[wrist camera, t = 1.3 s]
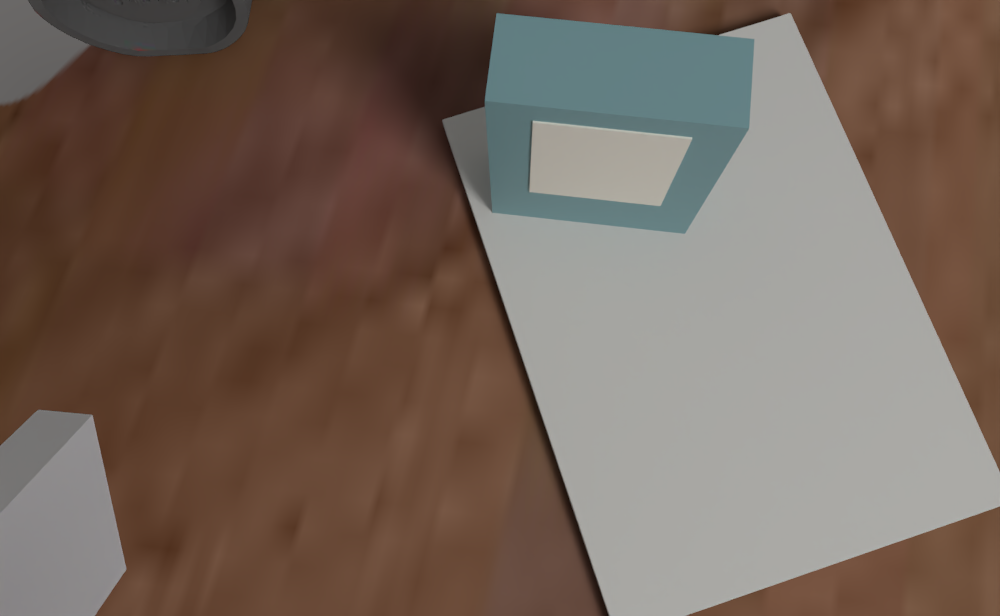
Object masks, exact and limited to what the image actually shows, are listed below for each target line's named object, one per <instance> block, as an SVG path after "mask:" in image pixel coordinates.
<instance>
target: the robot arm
mask: <svg viewBox="0 0 1000 616" xmlns="http://www.w3.org/2000/svg"><path fill="white" fill-rule="evenodd" d="M125 571H126V566H125V561H124V556H123V552H122V547H121V543H120V538H119V534H118V529H117V525H116V520H115V516H114V511H113V506H112V502H111V497H110V493H109V488H108V484H107V479H106V475H105V470H104V465H103V461H102V456H101V452H100V447H99V443H98V438H97V434H96V429H95V425H94V420H93V415H88V414H77V413H67V412H56V411H46V410H37V411H36V412H35V413H34V414H33V415H32V416H31V417H30V418H29V419H28V420H27V421H26V422H25V423H24V424H23V425H22V426H21V427H20V428H19V429H17V430H16V431H15V432H14V433H13V434H12V435H11V436H10V437H9V438H8V439H7V440H6V441H5V442H4V443H3V444H2V445H1V446H0V616H95V614H96V613H97V611H98V610H99V609H100V607H101V606H102V604H103V603H104V601H105V600H106V598H107V597H108V595H109V594H110V592H111V591H112V590H113V588H114V587H115V585H116V584H117V582H118V581H119V579H120V578H121V576H122V575H123V573H124V572H125Z"/></svg>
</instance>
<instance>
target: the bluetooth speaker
mask: <svg viewBox="0 0 1000 616" xmlns="http://www.w3.org/2000/svg"><path fill="white" fill-rule="evenodd" d="M28 1H29V3H30V4H31V6H32V7H33V9H34V10H35V11H36V12H37V13H38V14H39V15H40V16H41V17H42V18H43V19H44V20H46V21H47V22H48V23H50V24H51V25H53V26H54V27H56V28H57V29H59V30H61V31H63V32H64V33H66V34H68V35H70V36H72V37H74V38H76V39H78V40H81V41H83V42H85V43H88V44H90V45H93V46H96V47H99V48H102V49H105V50H109V51H113V52H117V53H121V54H126V55H133V56H163V55H186V54H203V53H212V52H216V51H219V50H222V49H224V48H226V47H228V46H230V45H231V44H233V43H234V42H235V41H236V40H238V39H239V38H240V36H241V35H242V34H243V33H244V31H245V29H246V27H247V24H248V19H249V14H250V9H251V3H252V0H28Z"/></svg>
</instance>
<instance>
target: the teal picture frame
mask: <svg viewBox="0 0 1000 616" xmlns="http://www.w3.org/2000/svg"><path fill="white" fill-rule="evenodd" d="M753 56H754V39H749V38H739V37H729V36H719V35H709V34H699V33H689V32H679V31H669V30H659V29H649V28H639V27H629V26H619V25H609V24H599V23H589V22H579V21H569V20H559V19H549V18H539V17H529V16H519V15H509V14H499V13H497V14H496V21H495V28H494V36H493V43H492V50H491V58H490V65H489V72H488V80H487V87H486V94H485V114H486V129H487V143H488V158H489V172H490V187H491V201H492V213H500V214H509V215H518V216H527V217H536V218H545V219H554V220H563V221H572V222H581V223H591V224H600V225H609V226H618V227H627V228H636V229H645V230H654V231H663V232H673V233H682V234H685V233H686V231H687V230H688V228H689V226H690V225H691V223H692V221H693V220H694V218H695V217H696V215H697V213H698V212H699V210H700V208H701V207H702V205H703V203H704V202H705V200H706V198H707V197H708V195H709V194H710V192H711V190H712V189H713V187H714V185H715V184H716V182H717V180H718V179H719V177H720V176H721V174H722V172H723V171H724V169H725V167H726V166H727V164H728V162H729V161H730V159H731V158H732V156H733V154H734V153H735V151H736V149H737V148H738V146H739V144H740V143H741V141H742V140H743V138H744V136H745V135H746V133H747V131H748V130H749V124H750V107H751V90H752V73H753Z"/></svg>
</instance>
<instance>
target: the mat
mask: <svg viewBox="0 0 1000 616" xmlns="http://www.w3.org/2000/svg"><path fill="white" fill-rule="evenodd" d="M719 36H729V37H739V38H749V39H754V56H753V73H752V90H751V107H750V124H749V130H748V131H747V133H746V135H745V136H744V138H743V140H742V141H741V143H740V144H739V146H738V148H737V149H736V151H735V153H734V154H733V156H732V158H731V159H730V161H729V162H728V164H727V166H726V167H725V169H724V171H723V172H722V174H721V176H720V177H719V179H718V180H717V182H716V184H715V185H714V187H713V189H712V190H711V192H710V194H709V195H708V197H707V198H706V200H705V202H704V203H703V205H702V207H701V208H700V210H699V212H698V213H697V215H696V217H695V218H694V220H693V221H692V223H691V225H690V226H689V228H688V230H687V231H686V233H685V234H682V233H673V232H663V231H654V230H645V229H636V228H627V227H618V226H609V225H600V224H591V223H581V222H572V221H563V220H554V219H545V218H536V217H527V216H518V215H509V214H500V213H492V201H491V187H490V172H489V158H488V143H487V129H486V114H485V107H482V108H479V109H476V110H472V111H469V112H466V113H463V114H459V115H456V116H453V117H449V118H446V119H443V120H442V122H443V127H444V130H445V133H446V136H447V139H448V142H449V144H450V147H451V150H452V153H453V156H454V159H455V162H456V165H457V168H458V171H459V174H460V177H461V180H462V183H463V186H464V189H465V192H466V195H467V198H468V201H469V204H470V207H471V210H472V213H473V216H474V219H475V222H476V224H477V227H478V230H479V233H480V236H481V239H482V242H483V245H484V248H485V251H486V254H487V257H488V260H489V263H490V266H491V269H492V272H493V275H494V278H495V281H496V284H497V287H498V290H499V293H500V296H501V299H502V302H503V304H504V307H505V310H506V313H507V316H508V319H509V322H510V325H511V328H512V331H513V334H514V337H515V340H516V343H517V346H518V349H519V352H520V355H521V358H522V361H523V364H524V367H525V370H526V373H527V376H528V379H529V382H530V384H531V387H532V390H533V393H534V396H535V399H536V402H537V405H538V408H539V411H540V414H541V417H542V420H543V423H544V426H545V429H546V432H547V435H548V438H549V441H550V444H551V447H552V450H553V453H554V456H555V459H556V462H557V464H558V467H559V470H560V473H561V476H562V479H563V482H564V485H565V488H566V491H567V494H568V497H569V500H570V503H571V506H572V509H573V512H574V515H575V518H576V521H577V524H578V527H579V530H580V533H581V536H582V539H583V542H584V544H585V547H586V550H587V553H588V556H589V559H590V562H591V565H592V568H593V571H594V574H595V577H596V580H597V583H598V586H599V589H600V592H601V595H602V598H603V601H604V604H605V607H606V610H607V613H608V616H686V615H689V614H692V613H694V612H697V611H700V610H703V609H706V608H709V607H712V606H715V605H717V604H720V603H723V602H726V601H729V600H732V599H735V598H738V597H740V596H743V595H746V594H749V593H752V592H755V591H758V590H761V589H763V588H766V587H769V586H772V585H775V584H778V583H781V582H784V581H786V580H789V579H792V578H795V577H798V576H801V575H804V574H807V573H809V572H812V571H815V570H818V569H821V568H824V567H827V566H830V565H832V564H835V563H838V562H841V561H844V560H847V559H850V558H853V557H855V556H858V555H861V554H864V553H867V552H870V551H873V550H876V549H878V548H881V547H884V546H887V545H890V544H893V543H896V542H899V541H902V540H904V539H907V538H910V537H913V536H916V535H919V534H922V533H925V532H927V531H930V530H933V529H936V528H939V527H942V526H945V525H948V524H950V523H953V522H956V521H959V520H962V519H965V518H968V517H971V516H973V515H976V514H979V513H982V512H985V511H988V510H991V509H994V508H996V507H999V506H1000V472H999V469H998V467H997V465H996V463H995V461H994V458H993V456H992V454H991V452H990V450H989V448H988V445H987V443H986V441H985V439H984V437H983V434H982V432H981V430H980V428H979V426H978V423H977V421H976V419H975V417H974V415H973V412H972V410H971V408H970V406H969V404H968V401H967V399H966V397H965V395H964V393H963V390H962V388H961V386H960V384H959V382H958V380H957V377H956V375H955V373H954V371H953V369H952V366H951V364H950V362H949V360H948V358H947V355H946V353H945V351H944V349H943V347H942V344H941V342H940V340H939V338H938V336H937V333H936V331H935V329H934V327H933V325H932V323H931V320H930V318H929V316H928V314H927V312H926V309H925V307H924V305H923V303H922V301H921V298H920V296H919V294H918V292H917V290H916V287H915V285H914V283H913V281H912V279H911V276H910V274H909V272H908V270H907V268H906V265H905V263H904V261H903V259H902V257H901V255H900V252H899V250H898V248H897V246H896V244H895V241H894V239H893V237H892V235H891V233H890V230H889V228H888V226H887V224H886V222H885V219H884V217H883V215H882V213H881V211H880V208H879V206H878V204H877V202H876V200H875V197H874V195H873V193H872V191H871V189H870V187H869V184H868V182H867V180H866V178H865V176H864V173H863V171H862V169H861V167H860V165H859V162H858V160H857V158H856V156H855V154H854V151H853V149H852V147H851V145H850V143H849V140H848V138H847V136H846V134H845V132H844V129H843V127H842V125H841V123H840V121H839V119H838V116H837V114H836V112H835V110H834V108H833V105H832V103H831V101H830V99H829V97H828V94H827V92H826V90H825V88H824V86H823V83H822V81H821V79H820V77H819V75H818V72H817V70H816V68H815V66H814V64H813V62H812V59H811V57H810V55H809V53H808V51H807V48H806V46H805V44H804V42H803V40H802V37H801V35H800V33H799V31H798V29H797V26H796V24H795V22H794V20H793V18H792V15H791V13H789V14H786V15H782V16H779V17H776V18H773V19H769V20H766V21H763V22H760V23H756V24H753V25H750V26H746V27H743V28H740V29H737V30H733V31H730V32H727V33H724V34H720V35H719Z"/></svg>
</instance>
